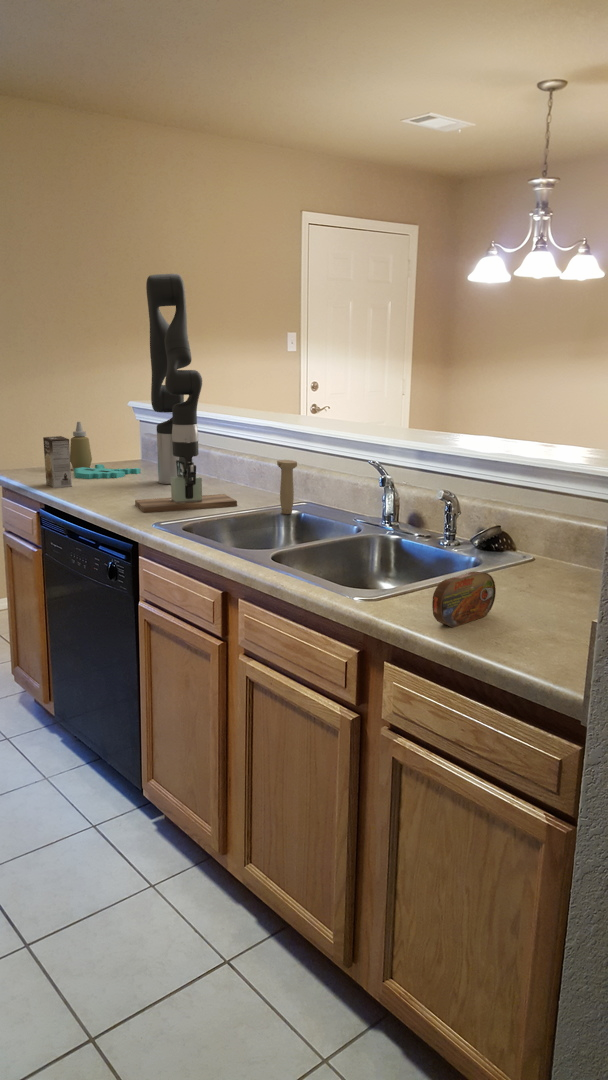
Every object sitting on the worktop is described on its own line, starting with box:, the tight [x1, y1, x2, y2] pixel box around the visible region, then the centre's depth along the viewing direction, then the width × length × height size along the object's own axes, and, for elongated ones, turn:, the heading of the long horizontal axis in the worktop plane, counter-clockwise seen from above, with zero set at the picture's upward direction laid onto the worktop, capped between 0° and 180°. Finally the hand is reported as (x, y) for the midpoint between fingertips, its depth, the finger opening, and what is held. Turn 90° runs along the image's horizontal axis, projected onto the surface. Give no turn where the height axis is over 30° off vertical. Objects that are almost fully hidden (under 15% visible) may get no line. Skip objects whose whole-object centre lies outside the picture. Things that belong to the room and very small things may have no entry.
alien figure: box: [73, 463, 141, 480], centre depth 294 cm, size 20×2×20 cm
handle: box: [276, 459, 298, 515], centre depth 229 cm, size 5×6×15 cm
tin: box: [431, 571, 497, 628], centre depth 143 cm, size 15×3×8 cm, turn 130°
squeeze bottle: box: [70, 421, 93, 470], centre depth 302 cm, size 8×8×18 cm
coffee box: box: [43, 435, 73, 489], centre depth 270 cm, size 9×6×16 cm
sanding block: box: [170, 475, 203, 503], centre depth 239 cm, size 5×8×7 cm, turn 113°
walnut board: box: [134, 493, 238, 513], centre depth 240 cm, size 12×28×2 cm, turn 113°
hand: (186, 496), depth 239 cm, fingers closed on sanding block, 5 cm apart
